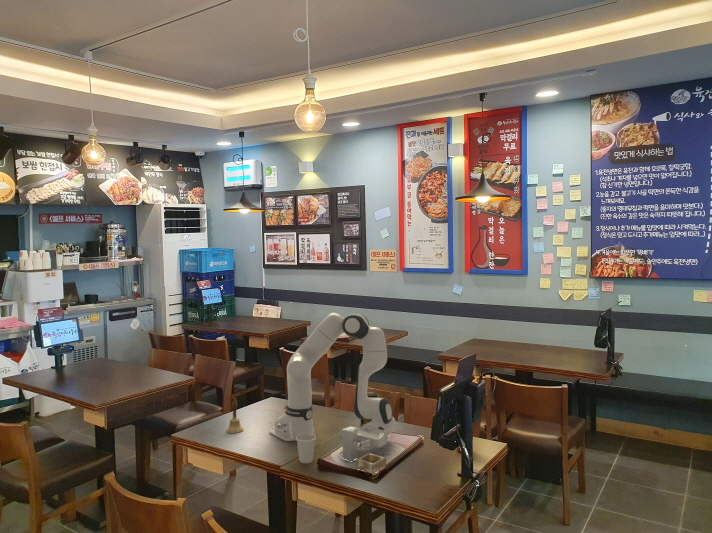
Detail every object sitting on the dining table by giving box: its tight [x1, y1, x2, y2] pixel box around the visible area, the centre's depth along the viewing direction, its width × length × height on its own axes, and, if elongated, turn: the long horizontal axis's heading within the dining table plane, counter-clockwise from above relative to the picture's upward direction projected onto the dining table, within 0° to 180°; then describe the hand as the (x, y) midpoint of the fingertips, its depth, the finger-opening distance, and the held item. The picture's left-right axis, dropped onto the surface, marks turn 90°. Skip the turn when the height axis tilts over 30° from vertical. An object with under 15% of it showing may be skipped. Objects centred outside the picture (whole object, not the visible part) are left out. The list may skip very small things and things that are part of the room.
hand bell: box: [225, 397, 244, 434], centre depth 254 cm, size 8×8×16 cm
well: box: [356, 452, 387, 473], centre depth 210 cm, size 8×8×4 cm
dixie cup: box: [296, 434, 317, 464], centre depth 218 cm, size 8×8×10 cm
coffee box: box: [360, 391, 380, 428], centre depth 262 cm, size 9×6×16 cm
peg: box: [342, 426, 359, 462], centre depth 220 cm, size 4×4×13 cm
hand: (352, 441), depth 221 cm, fingers open, 8 cm apart
